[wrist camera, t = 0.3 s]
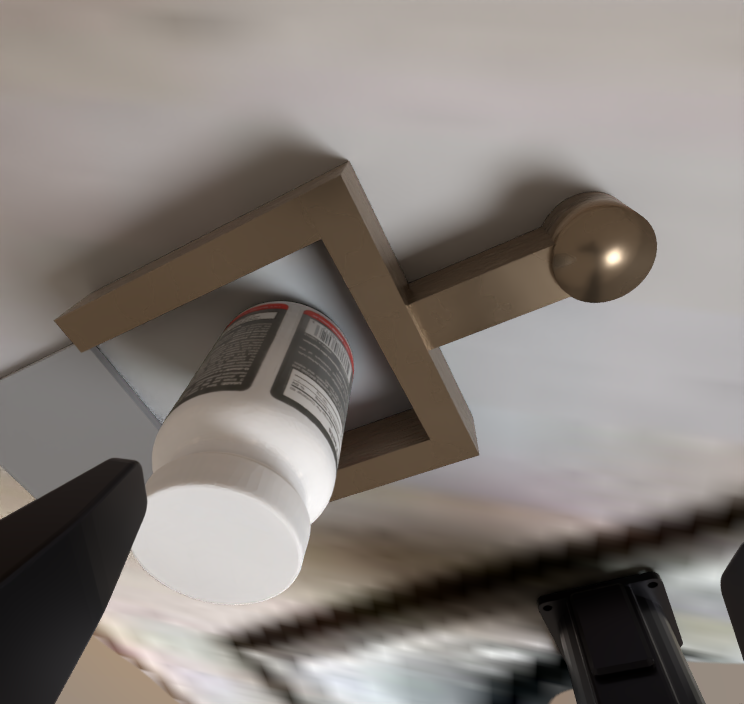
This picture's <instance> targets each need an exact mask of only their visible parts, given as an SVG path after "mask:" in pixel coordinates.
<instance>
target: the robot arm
mask: <svg viewBox="0 0 744 704" xmlns="http://www.w3.org/2000/svg"><path fill="white" fill-rule="evenodd" d="M146 510H147V494H146V487H145V481H144V475H143V469H142V465H141V464H140V463H139V462H138V461H136V460H131V459H123V458H110V459H108V460H106V461H104V462H102V463H100V464H99V465H97V466H95V467H93V468H91V469H90V470H88V471H86V472H84V473H83V474H81V475H79V476H77V477H75V478H74V479H72V480H70V481H68V482H66V483H65V484H63V485H61V486H59V487H58V488H56V489H54V490H52V491H50V492H49V493H47V494H45V495H43V496H42V497H40V498H38V499H36V500H34V501H33V502H31V503H29V504H27V505H25V506H24V507H22V508H20V509H18V510H17V511H15V512H13V513H11V514H9V515H8V516H6V517H4V518H2V519H1V520H0V704H55V703H56V701H57V699H58V697H59V695H60V693H61V691H62V689H63V688H64V685H65V684H66V682H67V680H68V679H69V677H70V675H71V673H72V671H73V669H74V668H75V666H76V664H77V662H78V660H79V658H80V657H81V655H82V653H83V651H84V649H85V647H86V646H87V644H88V642H89V640H90V638H91V636H92V635H93V633H94V631H95V629H96V627H97V625H98V623H99V621H100V619H101V617H102V615H103V613H104V611H105V609H106V607H107V605H108V602H109V600H110V598H111V596H112V593H113V591H114V588H115V586H116V584H117V581H118V579H119V577H120V574H121V572H122V569H123V567H124V565H125V562H126V560H127V557H128V555H129V553H130V550H131V548H132V546H133V543H134V541H135V538H136V536H137V534H138V531H139V529H140V526H141V524H142V522H143V519H144V517H145V514H146ZM721 592H722V596H723V599H724V602H725V605H726V608H727V611H728V614H729V617H730V620H731V623H732V626H733V629H734V632H735V635H736V639H737V642H738V645H739V648H740V651H741V654H742V657H743V660H744V542H743V543H742V544H741V545H740V547H739V549H738V550H737V552H736V553H735V555H734V556H733V558H732V560H731V561H730V563H729V564H728V566H727V568H726V569H725V571H724V572H723V574H722V577H721ZM537 605H538V609H539V612H540V613H541V615H542V617H543V619H544V621H545V623H546V625H547V627H548V629H549V631H550V633H551V635H552V637H553V638H554V640H555V642H556V644H557V646H558V648H559V650H560V652H561V654H562V656H563V658H564V660H565V662H566V663H567V667H568V671H569V674H570V678H571V682H572V686H573V690H574V694H575V698H576V702H577V704H706V703H705V701H704V699H703V697H702V695H701V692H700V690H699V688H698V686H697V684H696V681H695V679H694V677H693V675H692V673H691V670H690V669H689V666H688V664H687V662H686V659H685V657H684V655H683V653H682V651H681V648H680V647H681V646H682V645H683V641H682V638H681V635H680V632H679V629H678V626H677V623H676V620H675V617H674V614H673V611H672V608H671V605H670V602H669V599H668V596H667V593H666V590H665V587H664V584H663V582H662V580H661V578H660V576H659V574H657V573H655V572H647V573H643V574H638V575H634V576H630V577H625V578H621V579H616V580H612V581H607V582H603V583H599V584H594V585H590V586H585V587H581V588H577V589H572V590H568V591H563V592H559V593H555V594H550V595H546V596H542V597H540V598H539V599H538V600H537Z"/></svg>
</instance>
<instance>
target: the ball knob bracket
mask: <svg viewBox="0 0 744 704" xmlns="http://www.w3.org/2000/svg"><path fill="white" fill-rule="evenodd" d="M321 239H322V241H323V243H324V245H325V246H326V248H327V250H328V252H329V254H330V256H331V257H332V259H333V261H334V263H335V265H336V267H337V269H338V270H339V272H340V274H341V276H342V278H343V280H344V281H345V283H346V285H347V287H348V289H349V291H350V292H351V294H352V296H353V298H354V300H355V302H356V304H357V305H358V307H359V309H360V311H361V313H362V315H363V316H364V318H365V320H366V322H367V324H368V326H369V328H370V329H371V331H372V333H373V335H374V337H375V339H376V340H377V342H378V344H379V346H380V348H381V350H382V351H383V353H384V355H385V357H386V359H387V361H388V363H389V364H390V366H391V368H392V370H393V372H394V374H395V375H396V377H397V379H398V381H399V383H400V385H401V387H402V388H403V390H404V392H405V394H406V396H407V398H408V399H409V401H410V403H411V405H412V407H413V409H410V410H407V411H404V412H402V413H399V414H396V415H393V416H390V417H387V418H385V419H382V420H379V421H376V422H373V423H370V424H368V425H365V426H362V427H359V428H356V429H353V430H350V431H348V432H345V433H343V439H342V445H341V451H340V457H339V463H338V468H337V475H336V479H335V485H334V488H333V492H332V495H331V497H330V500H329V502H331V501H334V500H337V499H341V498H344V497H347V496H350V495H353V494H357V493H360V492H363V491H366V490H369V489H373V488H376V487H379V486H382V485H385V484H389V483H392V482H395V481H398V480H401V479H405V478H408V477H411V476H414V475H417V474H421V473H424V472H427V471H430V470H433V469H437V468H440V467H443V466H446V465H449V464H453V463H456V462H459V461H462V460H465V459H468V458H472V457H475V456H478V455H479V450H478V444H477V438H476V432H475V426H474V420H473V416H472V414H471V412H470V410H469V408H468V406H467V404H466V402H465V400H464V398H463V396H462V394H461V391H460V389H459V387H458V385H457V383H456V381H455V379H454V377H453V375H452V373H451V371H450V369H449V367H448V364H447V362H446V360H445V358H444V356H443V354H442V352H441V350H440V348H439V347H440V346H442V345H445V344H447V343H450V342H453V341H455V340H458V339H461V338H463V337H466V336H468V335H471V334H474V333H476V332H479V331H482V330H484V329H487V328H489V327H492V326H495V325H497V324H500V323H502V322H505V321H508V320H510V319H513V318H516V317H518V316H521V315H523V314H526V313H529V312H531V311H534V310H537V309H539V308H542V307H544V306H547V305H550V304H552V303H555V302H557V301H560V300H563V299H565V298H568V297H573V298H575V299H577V300H580V301H584V302H590V303H600V302H607V301H611V300H614V299H617V298H619V297H622V296H624V295H626V294H627V293H629V292H630V291H632V290H633V289H635V288H636V287H637V286H638V285H639V284H640V283H641V282H642V281H643V280H644V279H645V277H646V276H647V275H648V273H649V271H650V270H651V268H652V266H653V263H654V261H655V257H656V252H657V241H656V236H655V233H654V230H653V228H652V226H651V225H650V224H649V222H648V221H647V220H646V219H645V218H644V217H642V216H641V215H640V214H638V213H637V212H635V211H634V210H632V209H631V208H629V207H628V206H626V205H625V204H623V203H622V202H621V201H619V200H618V199H616V198H615V197H613V196H611V195H609V194H605V193H601V192H585V193H581V194H577V195H574V196H572V197H570V198H568V199H566V200H565V201H563V202H561V203H560V204H559V205H558V206H557V207H555V208H554V209H553V211H552V212H551V213H550V214H549V215H548V217H547V218H546V220H545V222H544V224H543V226H542V227H540V228H538V229H536V230H533V231H531V232H529V233H526V234H524V235H522V236H519V237H517V238H515V239H512V240H510V241H507V242H505V243H503V244H500V245H498V246H496V247H493V248H491V249H489V250H486V251H484V252H482V253H479V254H477V255H475V256H472V257H470V258H467V259H465V260H463V261H460V262H458V263H456V264H453V265H451V266H449V267H446V268H444V269H442V270H439V271H437V272H435V273H432V274H430V275H427V276H425V277H423V278H420V279H418V280H416V281H413V282H411V283H409V284H408V282H407V279H406V277H405V275H404V273H403V271H402V269H401V267H400V265H399V263H398V261H397V259H396V257H395V255H394V252H393V250H392V248H391V246H390V244H389V242H388V240H387V238H386V236H385V234H384V232H383V230H382V228H381V225H380V223H379V221H378V219H377V217H376V215H375V213H374V211H373V209H372V207H371V205H370V203H369V201H368V199H367V196H366V194H365V192H364V190H363V188H362V186H361V184H360V182H359V180H358V178H357V176H356V174H355V172H354V169H353V167H352V165H351V163H350V161H348V162H346V163H344V164H342V165H340V166H338V167H336V168H334V169H332V170H331V171H329V172H327V173H325V174H323V175H321V176H319V177H317V178H315V179H313V180H311V181H309V182H307V183H305V184H303V185H301V186H299V187H297V188H295V189H294V190H292V191H290V192H288V193H286V194H284V195H282V196H280V197H278V198H276V199H274V200H272V201H270V202H268V203H266V204H264V205H262V206H260V207H258V208H257V209H255V210H253V211H251V212H249V213H247V214H245V215H243V216H241V217H239V218H237V219H235V220H233V221H231V222H229V223H227V224H225V225H223V226H221V227H219V228H218V229H216V230H214V231H212V232H210V233H208V234H206V235H204V236H202V237H200V238H198V239H196V240H194V241H192V242H190V243H188V244H186V245H184V246H182V247H181V248H179V249H177V250H175V251H173V252H171V253H169V254H167V255H165V256H163V257H161V258H159V259H157V260H155V261H153V262H151V263H149V264H147V265H145V266H143V267H142V268H140V269H138V270H136V271H134V272H132V273H130V274H128V275H126V276H124V277H122V278H120V279H118V280H116V281H114V282H112V283H110V284H108V285H106V286H105V287H103V288H101V289H99V290H97V291H95V292H93V293H91V294H89V295H88V296H87V297H85V298H84V299H83V300H81V301H80V302H78V303H77V304H76V305H74V306H73V307H72V308H70V309H69V310H68V311H66V312H65V313H63V314H62V315H61V316H59V317H58V318H57V319H55V320H54V321H55V323H56V324H57V325H58V326H59V327H60V328H61V330H62V331H63V332H64V333H65V334H66V336H67V337H68V338H69V339H70V340H71V341H72V343H73V344H74V345H75V346H76V347H77V348H78V350H79V351H80V352H81V353H82V352H84V351H87V350H89V349H91V348H93V347H95V346H97V345H99V344H101V343H103V342H105V341H108V340H110V339H112V338H114V337H116V336H118V335H120V334H122V333H124V332H127V331H129V330H131V329H133V328H135V327H137V326H139V325H141V324H143V323H146V322H148V321H150V320H152V319H154V318H156V317H158V316H160V315H162V314H165V313H167V312H169V311H171V310H173V309H175V308H177V307H179V306H181V305H183V304H186V303H188V302H190V301H192V300H194V299H196V298H198V297H200V296H202V295H205V294H207V293H209V292H211V291H213V290H215V289H217V288H219V287H221V286H224V285H226V284H228V283H230V282H232V281H234V280H236V279H238V278H240V277H243V276H245V275H247V274H249V273H251V272H253V271H255V270H257V269H259V268H261V267H264V266H266V265H268V264H270V263H272V262H274V261H276V260H278V259H280V258H283V257H285V256H287V255H289V254H291V253H293V252H295V251H297V250H299V249H302V248H304V247H306V246H308V245H310V244H312V243H314V242H316V241H318V240H321Z"/></svg>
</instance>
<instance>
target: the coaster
mask: <svg viewBox="0 0 744 704" xmlns="http://www.w3.org/2000/svg"><path fill="white" fill-rule="evenodd" d="M161 426H162V425H161V424H160V422H159V421H158V420H157V419H156V418H155V416H154V415H153V414H152V413H151V412H150V410H149V409H148V408H147V407H146V406H145V404H144V403H143V402H142V401H141V400H140V398H139V397H138V396H137V395H136V394H135V392H134V391H133V390H132V389H131V388H130V386H129V385H128V384H127V383H126V382H125V380H124V379H123V378H122V377H121V376H120V374H119V373H118V372H117V371H116V369H115V368H114V367H113V366H112V365H111V363H110V362H109V361H108V360H107V359H106V357H105V356H104V355H103V354H102V353H101V351H100V350H99V349H98V348H97V347H96V346H95V347H93V348H91V349H89V350H87V351H84V352H82V353H81V352H80V351H79V350H78V348H77V347H76V346H75V345H74V344H71V345H69V346H67V347H65V348H63V349H61V350H59V351H57V352H55V353H53V354H50V355H48V356H46V357H44V358H42V359H40V360H38V361H36V362H34V363H32V364H30V365H28V366H26V367H24V368H22V369H19V370H17V371H15V372H13V373H11V374H9V375H7V376H5V377H3V378H1V379H0V466H1V467H2V468H3V469H5V470H6V471H7V472H8V473H9V474H10V475H11V476H12V477H13V478H14V479H15V480H16V481H17V482H18V483H19V484H20V485H21V486H23V487H24V488H25V489H26V490H27V491H28V492H29V493H30V494H31V495H32V496H33V497H34V498H35V499H38V498H40V497H42V496H43V495H45V494H47V493H49V492H50V491H52V490H54V489H56V488H58V487H59V486H61V485H63V484H65V483H66V482H68V481H70V480H72V479H74V478H75V477H77V476H79V475H81V474H83V473H84V472H86V471H88V470H90V469H91V468H93V467H95V466H97V465H99V464H100V463H102V462H104V461H106V460H108V459H110V458H123V459H131V460H136V461H138V462H139V463H140V464H141V465H142V469H143V475H144V481H145V485H146V483H147V481H148V479H149V478H150V477H151V475H152V474H153V470H152V451H153V446H154V442H155V439H156V436H157V434H158V432H159V430H160V428H161Z"/></svg>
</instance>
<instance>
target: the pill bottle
mask: <svg viewBox="0 0 744 704" xmlns="http://www.w3.org/2000/svg"><path fill="white" fill-rule="evenodd" d="M353 374H354V361H353V355H352V351H351V348H350V345H349V343H348V341H347V339H346V337H345V336H344V334H343V333H342V331H341V330H340V329H339V327H338V326H337V325H336V324H335V323H334V322H333V321H332V320H330V319H329V318H328V317H326V316H325V315H324V314H322V313H320V312H319V311H317V310H315V309H313V308H311V307H308V306H305V305H302V304H299V303H294V302H287V301H273V302H266V303H262V304H258V305H255V306H253V307H251V308H249V309H247V310H245V311H243V312H242V313H240V314H239V315H238V316H237V317H236V318H234V319H233V320H232V322H231V323H230V324H229V325H228V326H227V327H226V329H225V330H224V332H223V333H222V335H221V336H220V338H219V339H218V341H217V342H216V344H215V345H214V347H213V348H212V350H211V351H210V353H209V354H208V356H207V357H206V359H205V360H204V362H203V364H202V365H201V367H200V368H199V370H198V371H197V373H196V374H195V376H194V377H193V378H192V380H191V382H190V383H189V385H188V386H187V388H186V389H185V391H184V392H183V394H182V395H181V397H180V398H179V400H178V401H177V403H176V404H175V406H174V407H173V409H172V410H171V412H170V413H169V415H168V416H167V417H166V419H165V421H164V423H163V424H162V426H161V428H160V430H159V432H158V434H157V436H156V439H155V442H154V446H153V451H152V470H153V474H152V475H151V477H150V478H149V479H148V481H147V483H146V485H145V487H146V494H147V510H146V514H145V517H144V519H143V522H142V524H141V526H140V529H139V531H138V534H137V536H136V538H135V541H134V543H133V546H132V548H131V551H132V553H133V555H134V557H135V558H136V560H137V561H138V562H139V564H140V565H141V566H142V567H143V568H144V569H145V570H146V571H147V572H148V573H149V574H150V575H151V576H152V577H154V578H155V579H156V580H157V581H159V582H160V583H162V584H163V585H165V586H167V587H168V588H170V589H172V590H174V591H176V592H178V593H180V594H183V595H185V596H188V597H190V598H193V599H197V600H200V601H203V602H208V603H214V604H221V605H246V604H253V603H258V602H262V601H265V600H268V599H271V598H273V597H275V596H277V595H278V594H280V593H282V592H284V591H285V590H286V589H287V588H288V587H289V586H290V585H291V584H292V583H293V582H294V580H295V579H296V577H297V576H298V574H299V572H300V570H301V567H302V563H303V559H304V555H305V552H306V548H307V545H308V541H309V537H310V529H311V524H312V523H313V522H314V521H315V520H316V519H317V518H318V517H319V516H320V514H321V513H322V512H323V510H324V509H325V507H326V506H327V504H328V502H329V500H330V497H331V495H332V492H333V488H334V485H335V479H336V475H337V468H338V463H339V457H340V451H341V445H342V439H343V433H344V427H345V422H346V416H347V410H348V404H349V398H350V393H351V387H352V382H353Z"/></svg>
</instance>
